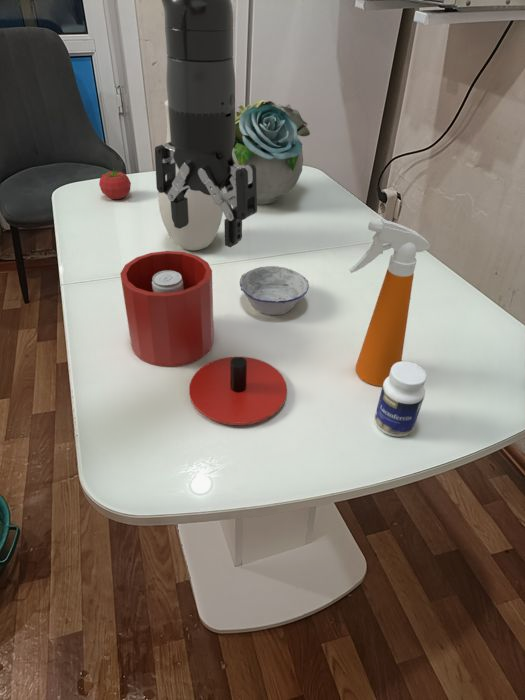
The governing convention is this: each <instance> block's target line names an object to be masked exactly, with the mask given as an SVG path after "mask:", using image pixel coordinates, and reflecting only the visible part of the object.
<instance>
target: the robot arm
mask: <svg viewBox="0 0 525 700" xmlns="http://www.w3.org/2000/svg"><path fill="white" fill-rule="evenodd" d="M161 3H162V6H163V12H164V30H165V45H166V46H165V47H166V93H167V100H168V109H169V123H170V137H171V142H168V143H166V142H165V143H162V144H160V145H156V146H155V147H154V161H155V162H154V163H155V182H156V183H155V184H156V190H157V192H160V193H163V192H164V193H165V194H166V195H167V197H168V199H169V200H170V202H171V214H172V220H173V222H174V227H176V228H179V229H181V228H183V227H185V226H187V225H188V223H189V217H188V199H187V198H186V197H184V196H185V195H186V194H187V193H188V191H189V190H194V191H201V192H202V193H204V194H206V195H211V196H212V198H213V200H214V202H215V203H216V204H217V205H219V206H220V207H221V209H222V211H223V215H224V217H225V218H224V221H223V223H224V224H223V225H224V246H226V247H228V248H232V247H234V246H236V245H237V244H238V243H240V241H242V238H243V221H244V220H246V219H248V218H249V217H251V216H253V215H255V214H256V213H257V212H258V204H257V183H256V167H255V166H254V165H253V164H249V165H246V166H243V165H237V164H235V162H234V160H233V156H232V151H233V147H234V144H235V118H236V73H235V66H234V64H235V63H234V9H233V3H232V0H161ZM176 165H177V167H178V169H179V172H178V174H177V176H176ZM166 174H167V180H166V178H165V176H166ZM232 176H233V177H234V180H232V178H231V177H232ZM235 184H236V185H235ZM224 188H225V190H226V192H225V193H224V192H223V193H221V192H220V191H221V190H222V191H223V190H224Z"/></svg>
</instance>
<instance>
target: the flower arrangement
mask: <svg viewBox="0 0 525 700" xmlns="http://www.w3.org/2000/svg"><path fill="white" fill-rule="evenodd" d="M238 109H239V111H235V144H234V147H233V151H232V156H233V160H234V162H235V164H237V165H243V166H246V165H249V164H253V165H254V166H255V167H256V183H257V205H263V206H264V205H270V204H273V203H275V202H276V200H277V199H278V197H280V196H282V195H285V194H286V193H289V191H291V190H292V189H294V188H295V186H296V185H297V183H298V181H299V178H300V177H301V175H302V172H303V166H304V153H303V143H302V141H301V139H300V137H308V136H310V135H311V132H310V129H309V128H308V127H307V126H308V125H309V124H308V122H306V121H304V119H303V117H302V115H301V114H300V112H299V110H297V109H295V108H294V109H293V108H292V106H291V104H290V103H289V104H287V105H285V104H280V103H279V104H278V103H276V102H275V101H273V100H269V101H266V100H265V99H261V100H259V101H256V102H255V103H252V104H251V105H250V104H248V105H247V106H245V107H244V104H243V102H241V103H240V106H238ZM299 136H300V137H299ZM231 178H232V180H234V177H233V176H232V177H231ZM235 185H236V184H235Z"/></svg>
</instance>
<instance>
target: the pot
mask: <svg viewBox="0 0 525 700" xmlns="http://www.w3.org/2000/svg"><path fill="white" fill-rule="evenodd" d="M161 271H175V272H178V273H179V274H180V275H181V276H182V280H183V289H184V290H183V291H177V292H170V293H158V292H153V288H152V281H153V279H152V278H153V276H154V275H155V274H156V273H158V272H161ZM120 280H121V286H122V288H121V289H122V295H123V301H124V308H125V314H126V319H127V320H126V321H127V326H128V333H129V340H130V344H131V349H132V352H133V353H134V355H135V356H136V357H137V358H139V359H140V360H141V361H143V362H145V363H148V364H150V365H153V366H157V367H167V368H168V367H169V368H170V367H182V366H186V365H189V364H192V363H195V362H197V361H198V360H200V359H202V358H204V357H205V356H206V355H207V354H208V353H209V351H210V350H211V349H212V347H213V345H214V344H213V343H214V339H215V338H214V337H215V334H214V333H215V331H214V299H213V298H214V297H213V295H214V294H213V293H214V292H213V290H214V289H213V270H212V268H211V266H210V264H209V262H208V261H207V260H205V259H203V258H202V257H200V256H198V255H196V254H193V253H189V252H186V251H178V250H177V251H176V250H163V251H155V252H149V253H146V254H143V255H140V256H139V255H138V256H137V257H135V258H133V259H131V260H130V261H129V262H127V263H126V264H125V265H124V267H122V269H121V271H120Z"/></svg>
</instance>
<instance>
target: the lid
mask: <svg viewBox="0 0 525 700" xmlns="http://www.w3.org/2000/svg"><path fill="white" fill-rule="evenodd" d="M188 389H189V391H188V392H189V399H190V401H191V403H192V405H193V407H194V408H195V409H196V410H197V411H198V412H199V413H200V414H201V415H203V416H204V417H205V418H207V419H209V420H211V421H213V422H216V423H219V424H224V425H231V426H247V425H248V426H249V425H254V424H257V423H260V422H263V421H265V420H268V419H269V418H271V417H272V416H274V415H275V414H277V412H279V411H280V410H281V409H282V407H283V406H284V404H285V402H286V400H287V394H288V386H287V382H286V380H285V378H284V376H283V375H282V374H281V372H280V371H279V370H278V369H277V368H276V367H274V366H272V365H271V364H269V363H268V362H266V361H263V360H260V359H257V358H253V357H248V356H227V357H223V358H218V359H215V360H212V361H210V362H208V363H207V364H205V365H203V366H201V367H200V368H199V369H198V370H197V371H196V372H195V374H194V375H193V376H192V378H191V380H190V383H189V388H188Z"/></svg>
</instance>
